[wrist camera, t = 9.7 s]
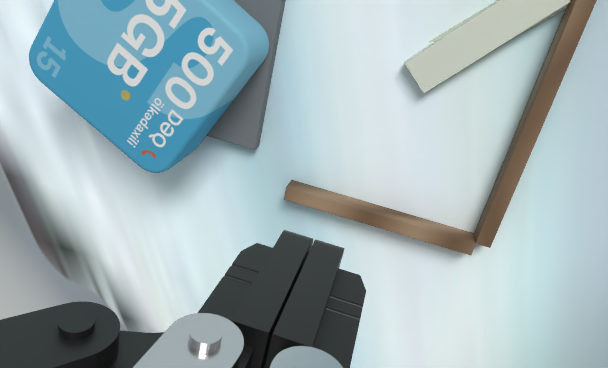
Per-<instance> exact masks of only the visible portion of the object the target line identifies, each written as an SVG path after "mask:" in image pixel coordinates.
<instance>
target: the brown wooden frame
mask: <svg viewBox="0 0 608 368" xmlns="http://www.w3.org/2000/svg"><path fill="white" fill-rule="evenodd" d="M595 3H596V0H570V2H569V3H568V5H567V8H566V10H565V13H564V15H563V18H562V20H561V23H560V25H559V27H558V30H557V32H556V35H555V37H554V40H553V42H552V45H551V47H550V49H549V52H548V54H547V57H546V59H545V62H544V64H543V67H542V69H541V72H540V74H539V76H538V79H537V81H536V84H535V86H534V89H533V91H532V94H531V96H530V98H529V101H528V103H527V106H526V108H525V111H524V113H523V116H522V118H521V120H520V123H519V125H518V128H517V130H516V133H515V135H514V138H513V140H512V143H511V145H510V147H509V150H508V152H507V155H506V157H505V160H504V162H503V165H502V167H501V169H500V172H499V174H498V177H497V179H496V182H495V184H494V187H493V189H492V192H491V194H490V196H489V199H488V201H487V204H486V206H485V209H484V211H483V214H482V216H481V218H480V221H479V223H478V226H477V228H476V231H475V233H470V232H467V231H464V230H460V229H457V228H453V227H450V226H447V225H443V224H440V223H436V222H433V221H430V220H426V219H423V218H419V217H416V216H413V215H409V214H406V213H402V212H399V211H395V210H392V209H389V208H385V207H382V206H378V205H375V204H372V203H368V202H365V201H361V200H358V199H355V198H351V197H348V196H344V195H341V194H338V193H334V192H331V191H327V190H324V189H321V188H317V187H314V186H310V185H307V184H304V183H300V182H297V181H293V180H291V182H290V183H289V184H288V186H287V187H286V192H285V197H284V199H285V200H288V201H292V202H295V203H298V204H302V205H305V206H308V207H312V208H315V209H318V210H322V211H325V212H328V213H332V214H335V215H338V216H342V217H345V218H348V219H352V220H355V221H358V222H362V223H365V224H368V225H372V226H375V227H378V228H382V229H385V230H388V231H392V232H395V233H398V234H402V235H405V236H408V237H412V238H415V239H418V240H422V241H425V242H428V243H432V244H435V245H438V246H442V247H445V248H448V249H452V250H455V251H458V252H462V253H465V254H468V255H471V254H472V252H473V249H474V247H475V244H479V245H483V246H486V247H491V245H492V242H493V240H494V238H495V235H496V233H497V231H498V228H499V226H500V224H501V221H502V219H503V217H504V214H505V212H506V210H507V207H508V205H509V203H510V200H511V198H512V196H513V193H514V191H515V189H516V186H517V184H518V182H519V179H520V177H521V175H522V172H523V170H524V168H525V166H526V163H527V161H528V159H529V156H530V154H531V152H532V149H533V147H534V145H535V142H536V140H537V138H538V135H539V133H540V131H541V128H542V126H543V124H544V121H545V119H546V117H547V114H548V112H549V110H550V107H551V105H552V103H553V100H554V98H555V96H556V93H557V91H558V89H559V86H560V84H561V82H562V79H563V77H564V75H565V72H566V70H567V68H568V65H569V63H570V61H571V59H572V56H573V54H574V52H575V49H576V47H577V45H578V42H579V40H580V38H581V35H582V33H583V31H584V28H585V26H586V24H587V21H588V19H589V17H590V14H591V12H592V10H593V7H594V5H595Z"/></svg>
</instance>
